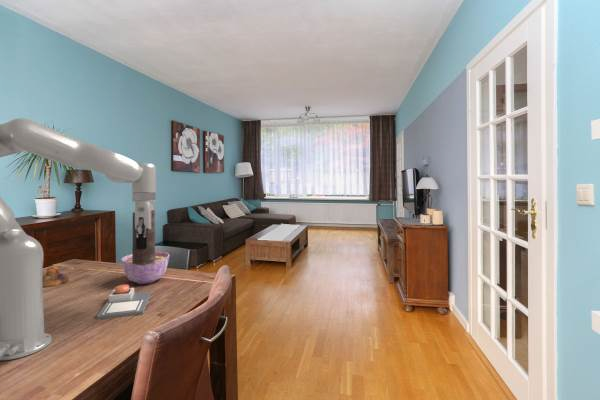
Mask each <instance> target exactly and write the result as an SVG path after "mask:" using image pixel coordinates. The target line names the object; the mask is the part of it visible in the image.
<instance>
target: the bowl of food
mask: <svg viewBox="0 0 600 400" xmlns="http://www.w3.org/2000/svg"><path fill="white" fill-rule="evenodd" d="M120 260H121V263H122V267H123V270H124V274H125V277H126V278H127V279H128V280H129V281H131V282H133V283H136V284H138V285H148V284H153V283H155V282H156V281H157V280H160V279H161V278H162V277H163V276H164V275H165V274H166V271H167V268H168V265H169V260H170V254H169V252H164V251H155V264H146V265H135V264H133V263H132V253H131V254H127V255H125V256H122V258H120Z"/></svg>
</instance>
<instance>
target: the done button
mask: <svg viewBox="0 0 600 400" xmlns="http://www.w3.org/2000/svg"><path fill="white" fill-rule="evenodd" d="M129 288H130V285H129V284H120V285H117V286H115V287H114V289H115V295H118V294H127V293H129Z"/></svg>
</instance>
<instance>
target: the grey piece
mask: <svg viewBox="0 0 600 400" xmlns="http://www.w3.org/2000/svg"><path fill="white" fill-rule="evenodd" d="M151 294H152V291H151V290H150V291H140V292H135V287H129V293H127V294H118V295H115V288H114V289H113V290H112V291H111V292H110V294H109V295H108V300H107V302H106V303H105V304H104V305H103V306H102V308H101V310H100V311H99V312H98V313H97V315H96V320H102V319H112V318H119V317H127V316H137V315H143V314H144V312H145V310H146V307H147V304H148V302H149V300H150V297H151ZM111 317H112V318H111Z"/></svg>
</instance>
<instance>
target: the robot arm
mask: <svg viewBox="0 0 600 400" xmlns="http://www.w3.org/2000/svg"><path fill="white" fill-rule="evenodd" d="M22 152H26V153H29V154H32V155H35V156H38V157H41V158H44V159H47V160H49V161H53V162H55V163H58V164H60V165H63V166H66V167H71V168H74V169H80V170H81V169H82V170H87V171H93V172H97V173H100V174H104V175H105V177H106V179H108V181H111V182H113V183H119V184H125V183H126V184H131V185H132V186H131V202H134V212H135V229H136V230H137V237H136V249H146V248H147V237H146V228H148V230H150V229H151V211H152V210H155V208H154V202H156V201H157V200H156V199H157V197H156V196H157V195H156V193H157V191H156V188H157V187H156V185H157V184H156V181H157V179H156V178H157V176H156V175H157V166H156V165H155V164H154V163H150V162H137V161H135V160H134V159H131V158H130V157H126V156H125V155H123V154H119V152H118V153H117V152H115V151H112V150H110V149H106V148H103V147H101V146H97V145H95V144H93V143H92V144H91V143H90V142H86V141H83V140H79V139H77V138H75V137H72V136H71V135H67V134H66V133H63V132H61V131H58V130H57V129H56V130H55V129H53V128H51V127H48V126H46V125H44V124H41V123H38V122H37V121H33V120H31V119H28V118H14V119H11V120H9V121H8V122H5V123H1V124H0V158H3V157H8V156H12V155H16V154H18V153H22ZM143 222H144V225H145V228H142V226H143ZM137 226H138V227H137ZM23 229H24V228H22V227H21V226H20V224H19V222H17V220H16V216H15V213H14V211H13V210H12V208H11V207H10V206H9V205H8V204H7V203H6V202H5V200H3V198H2V197H1V196H0V361H8V360H16V359H20V358H24V357H27V356H30V355H33V354H35V353H37V352H39V351H41V350H43V349H45V348H47V346H49V345H50V344H51V343H52V340H53V338H52V335H51V334H50V333H47V332H45V317H44V316H45V315H44V314H45V313H44V311H45V310H44V289H43V288H44V287H42V276H43V267H44V249H43V246H42V244H41V243H40V241H38V240H37V239H36V238H34V237H33V236H30V235H28V234H27V233H26V232H25V231H24V230H23Z"/></svg>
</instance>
